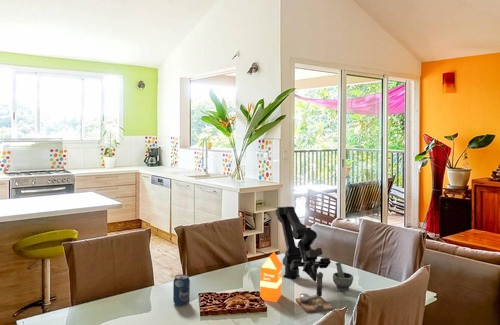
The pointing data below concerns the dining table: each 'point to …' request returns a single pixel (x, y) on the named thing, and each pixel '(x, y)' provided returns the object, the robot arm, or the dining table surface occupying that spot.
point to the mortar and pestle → (342, 279)
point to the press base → (315, 305)
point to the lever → (307, 298)
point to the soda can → (181, 290)
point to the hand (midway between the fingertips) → (315, 280)
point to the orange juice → (271, 279)
